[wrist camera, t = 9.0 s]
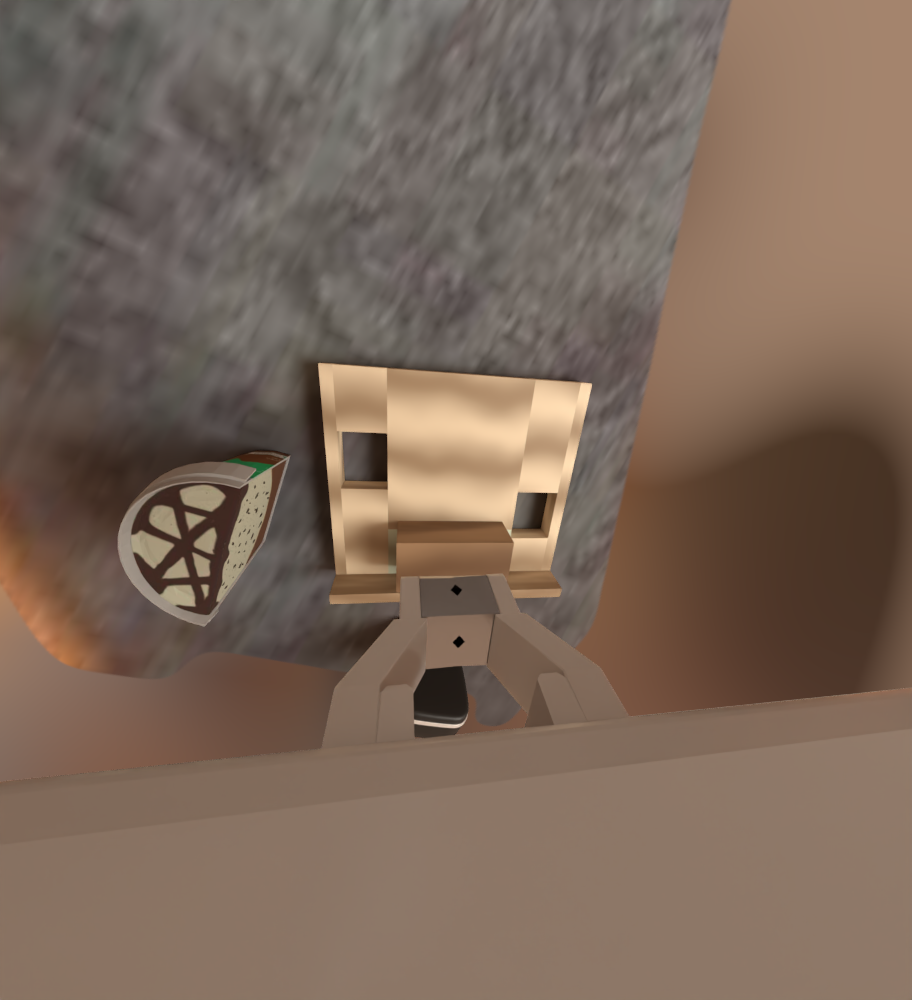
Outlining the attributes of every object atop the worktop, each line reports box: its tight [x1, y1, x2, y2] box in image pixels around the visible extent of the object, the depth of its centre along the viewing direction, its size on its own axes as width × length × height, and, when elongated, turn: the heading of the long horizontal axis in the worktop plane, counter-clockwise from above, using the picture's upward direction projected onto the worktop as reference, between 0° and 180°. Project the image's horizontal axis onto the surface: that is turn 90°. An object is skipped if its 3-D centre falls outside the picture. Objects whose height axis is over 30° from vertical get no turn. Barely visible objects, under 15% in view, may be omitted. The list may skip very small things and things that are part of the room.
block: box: [396, 521, 514, 592], centre depth 30 cm, size 5×10×4 cm, turn 86°
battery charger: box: [413, 666, 468, 738], centre depth 34 cm, size 7×4×11 cm, turn 68°
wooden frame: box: [318, 363, 592, 604], centre depth 29 cm, size 20×22×5 cm
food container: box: [118, 450, 290, 626], centre depth 25 cm, size 12×6×10 cm, turn 155°
